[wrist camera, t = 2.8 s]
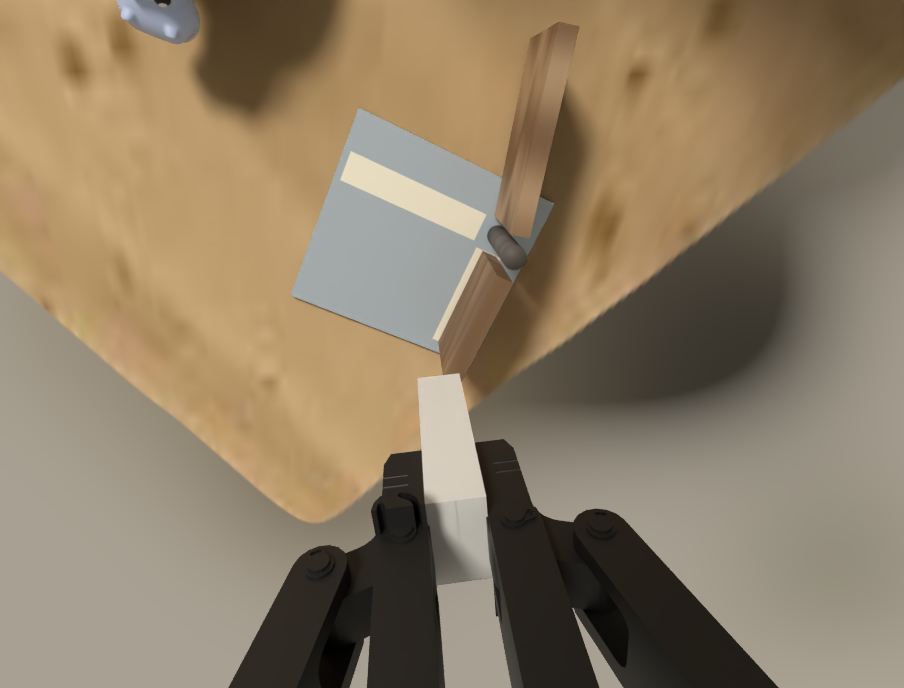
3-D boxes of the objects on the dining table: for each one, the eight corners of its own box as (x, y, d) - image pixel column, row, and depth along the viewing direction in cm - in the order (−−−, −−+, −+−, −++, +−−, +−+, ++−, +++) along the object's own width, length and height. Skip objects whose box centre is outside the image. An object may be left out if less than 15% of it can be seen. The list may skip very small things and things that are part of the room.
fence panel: (509, 218, 40) (529, 238, 34) (494, 215, 40) (511, 235, 34) (547, 42, 35) (579, 26, 29) (530, 38, 35) (558, 21, 29)
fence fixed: (435, 337, 44) (441, 379, 37) (492, 220, 41) (510, 243, 34) (452, 344, 45) (461, 387, 38) (509, 229, 41) (531, 253, 34)
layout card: (291, 294, 42) (290, 295, 41) (359, 107, 37) (358, 107, 36) (470, 363, 46) (470, 365, 45) (553, 203, 41) (554, 204, 40)
